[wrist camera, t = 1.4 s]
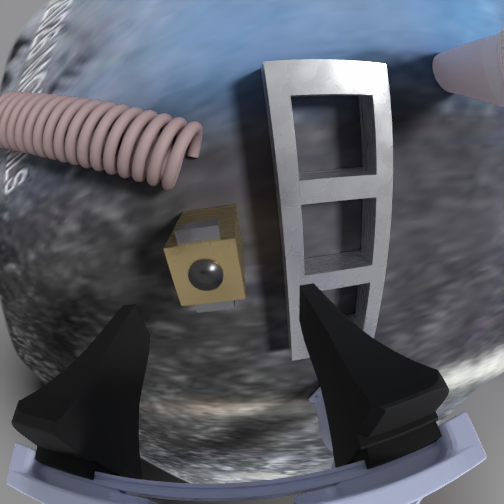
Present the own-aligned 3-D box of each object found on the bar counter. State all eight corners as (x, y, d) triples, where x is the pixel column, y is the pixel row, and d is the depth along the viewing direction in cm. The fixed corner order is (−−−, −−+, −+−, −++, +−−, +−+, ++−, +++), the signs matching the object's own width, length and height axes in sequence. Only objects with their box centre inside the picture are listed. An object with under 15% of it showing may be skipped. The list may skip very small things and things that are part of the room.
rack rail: (364, 328, 27) (372, 344, 24) (288, 341, 27) (292, 360, 25) (370, 67, 16) (386, 63, 13) (260, 68, 16) (263, 61, 14)
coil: (203, 121, 14) (-12, 89, 10) (177, 201, 15) (-25, 149, 12) (209, 126, 18) (21, 92, 15) (189, 188, 20) (9, 143, 16)
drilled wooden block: (245, 260, 22) (247, 310, 17) (196, 267, 23) (184, 317, 17) (234, 192, 20) (232, 225, 14) (180, 201, 20) (158, 236, 15)
